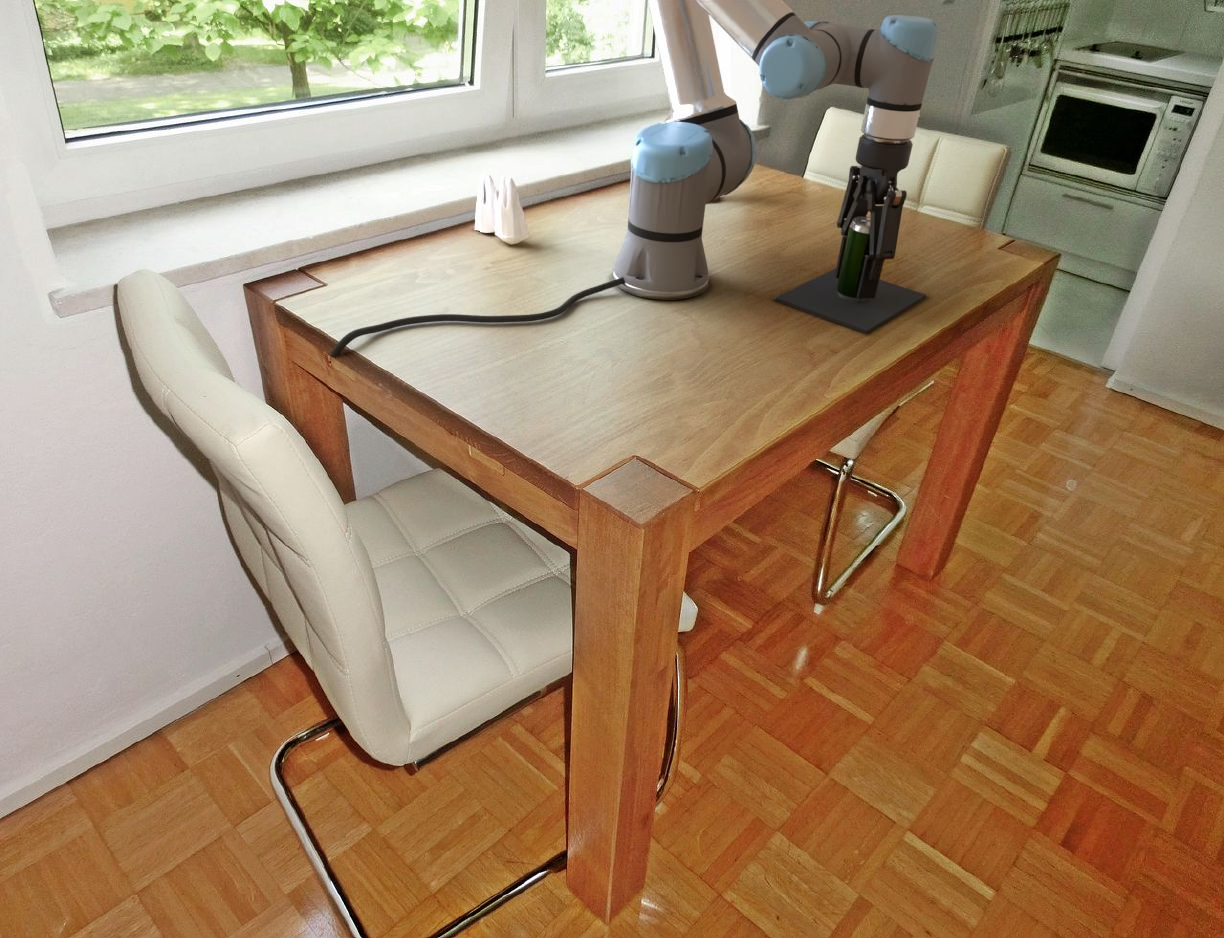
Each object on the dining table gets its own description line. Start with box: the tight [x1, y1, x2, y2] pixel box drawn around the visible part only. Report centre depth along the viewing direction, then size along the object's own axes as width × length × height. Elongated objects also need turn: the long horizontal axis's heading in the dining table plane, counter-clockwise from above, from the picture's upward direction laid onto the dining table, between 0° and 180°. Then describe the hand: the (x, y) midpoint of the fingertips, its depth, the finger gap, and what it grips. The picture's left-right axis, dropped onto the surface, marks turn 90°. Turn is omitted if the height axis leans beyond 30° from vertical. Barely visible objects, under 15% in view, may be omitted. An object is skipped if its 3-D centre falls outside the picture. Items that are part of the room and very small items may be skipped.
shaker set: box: [474, 173, 530, 245], centre depth 154 cm, size 12×4×11 cm, turn 40°
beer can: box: [837, 215, 871, 302], centre depth 138 cm, size 5×5×12 cm
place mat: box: [774, 267, 927, 335], centre depth 142 cm, size 20×16×1 cm
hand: (854, 286), depth 141 cm, fingers open, 7 cm apart
